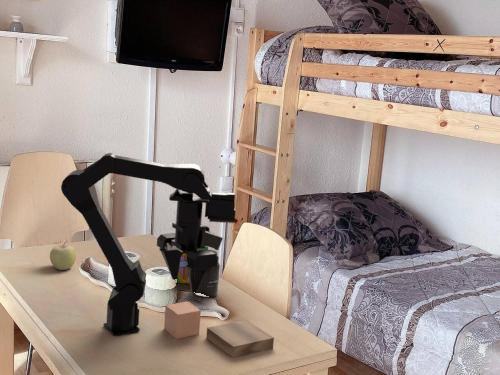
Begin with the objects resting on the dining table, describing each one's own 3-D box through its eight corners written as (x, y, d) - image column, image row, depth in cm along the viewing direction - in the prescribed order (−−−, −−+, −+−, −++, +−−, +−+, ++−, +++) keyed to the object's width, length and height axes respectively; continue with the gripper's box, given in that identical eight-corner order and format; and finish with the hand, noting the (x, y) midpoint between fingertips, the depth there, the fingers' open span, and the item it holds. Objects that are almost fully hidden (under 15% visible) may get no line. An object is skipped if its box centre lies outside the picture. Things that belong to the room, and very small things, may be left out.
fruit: (81, 268, 188) (82, 242, 186) (61, 274, 182) (62, 247, 180) (63, 262, 192) (64, 236, 190) (43, 268, 185) (44, 241, 184)
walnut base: (232, 357, 139) (233, 346, 139) (206, 337, 148) (207, 327, 147) (272, 347, 145) (273, 337, 145) (245, 329, 154) (246, 319, 154)
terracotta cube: (176, 339, 146) (177, 314, 145) (164, 329, 151) (165, 305, 150) (199, 334, 150) (200, 310, 148) (186, 325, 154) (187, 301, 153)
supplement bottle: (214, 299, 172) (217, 257, 169) (189, 296, 173) (192, 253, 171) (220, 291, 178) (223, 250, 176) (196, 287, 180) (199, 246, 177)
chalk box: (174, 273, 190) (177, 225, 188) (205, 274, 191) (208, 226, 189) (173, 283, 181) (176, 233, 179) (205, 285, 182) (209, 235, 180)
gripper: (241, 227, 142) (235, 294, 145) (198, 208, 157) (194, 269, 160) (197, 231, 136) (192, 301, 139) (157, 211, 151) (153, 274, 154)
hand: (184, 285), depth 148 cm, fingers open, 9 cm apart
